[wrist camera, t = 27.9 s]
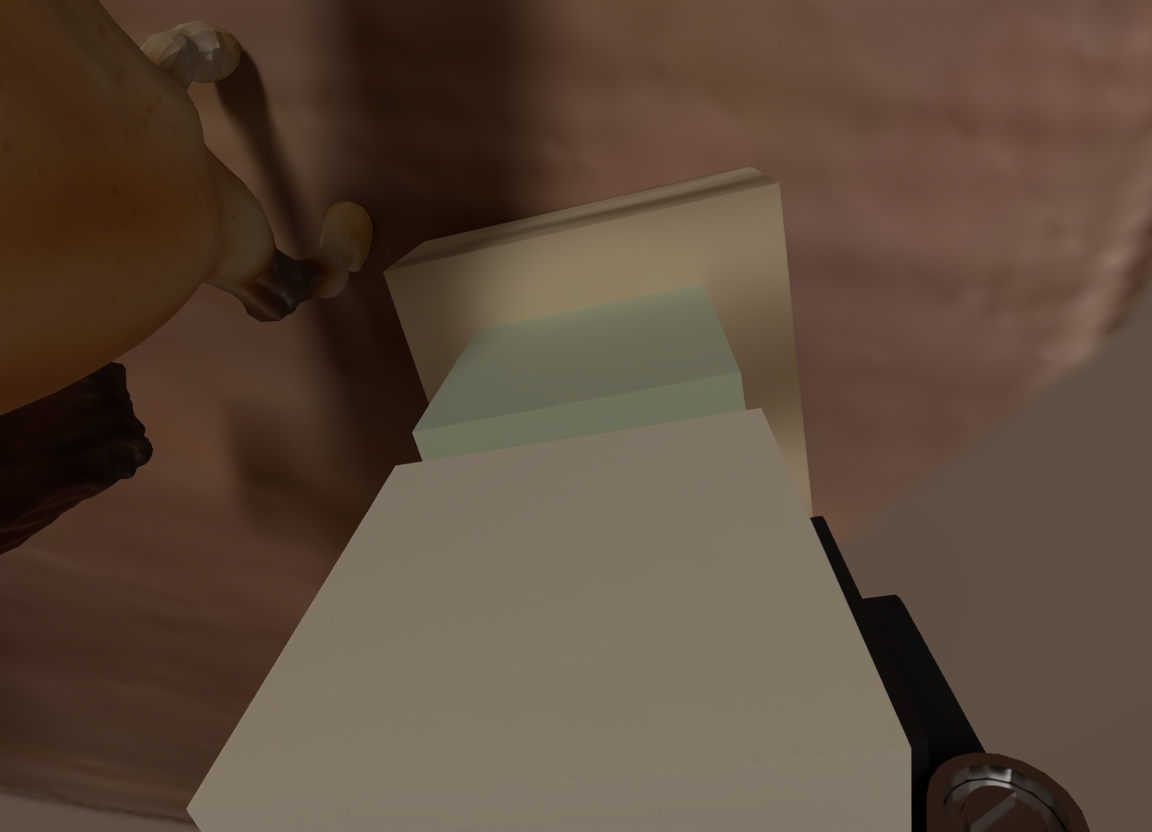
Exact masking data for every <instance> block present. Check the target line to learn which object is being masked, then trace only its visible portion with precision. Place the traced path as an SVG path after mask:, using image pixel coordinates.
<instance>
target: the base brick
mask: <svg viewBox="0 0 1152 832" xmlns="http://www.w3.org/2000/svg"><path fill="white" fill-rule="evenodd" d="M383 274H384V277H385V280H386V283H387V285H388V288H389V291H390V294H391V297H392V300H393V303H394V305H395V308H396V311H397V314H398V317H399V320H400V323H401V325H402V328H403V331H404V334H405V337H406V340H407V343H408V345H409V348H410V351H411V354H412V357H413V360H414V363H415V365H416V368H417V371H418V374H419V377H420V380H421V383H422V386H423V388H424V391H425V394H426V397H427V400H428V403H429V404H430V403H431V401H432V400H433V398H434V396H435V395H436V393H437V392H438V390H439V388H440V387H441V385H442V384H443V382H444V380H445V379H446V377H447V376H448V374H449V373H450V371H451V369H452V368H453V366H454V365H455V363H456V361H457V360H458V358H459V357H460V355H461V353H462V352H463V350H464V349H465V347H466V345H467V344H468V342H469V341H470V339H471V337H472V336H473V334H474V333H475V331H476V330H479V329H484V328H489V327H494V326H499V325H504V324H509V323H514V322H519V321H523V320H528V319H533V318H538V317H543V316H548V315H553V314H558V313H563V312H567V311H572V310H577V309H582V308H587V307H592V306H597V305H602V304H607V303H611V302H616V301H621V300H626V299H631V298H636V297H641V296H646V295H651V294H655V293H660V292H665V291H670V290H675V289H680V288H685V287H690V286H695V285H699V284H704V287H705V289H706V291H707V294H708V296H709V298H710V301H711V303H712V305H713V308H714V310H715V313H716V315H717V317H718V320H719V322H720V324H721V327H722V329H723V331H724V334H725V336H726V339H727V341H728V343H729V346H730V348H731V350H732V353H733V355H734V358H735V360H736V362H737V365H738V367H739V369H740V372H741V378H742V386H743V393H744V400H745V408H746V410H752V409H758V408H762V411H763V413H764V415H765V417H766V420H767V422H768V424H769V426H770V429H771V431H772V433H773V436H774V438H775V440H776V442H777V445H778V447H779V449H780V451H781V454H782V456H783V458H784V461H785V463H786V465H787V467H788V470H789V472H790V474H791V476H792V479H793V481H794V483H795V485H796V488H797V490H798V492H799V495H800V497H801V499H802V501H803V504H804V506H805V508H806V510H807V513H808V515H809V517H813V514H812V504H811V494H810V484H809V474H808V464H807V454H806V444H805V434H804V424H803V414H802V404H801V394H800V384H799V374H798V364H797V354H796V344H795V334H794V324H793V314H792V304H791V294H790V284H789V274H788V264H787V254H786V244H785V234H784V224H783V214H782V204H781V194H780V184H779V182H777V181H775V180H774V179H772V178H770V177H768V176H767V175H765V174H763V173H761V172H759V171H758V170H756V169H754V168H752V167H751V166H750V167H746V168H742V169H737V170H733V171H729V172H724V173H720V174H715V175H711V176H707V177H702V178H698V179H694V180H689V181H685V182H681V183H676V184H672V185H668V186H663V187H659V188H655V189H650V190H646V191H642V192H637V193H633V194H628V195H624V196H620V197H615V198H611V199H607V200H602V201H598V202H594V203H589V204H585V205H581V206H576V207H572V208H568V209H563V210H559V211H555V212H550V213H546V214H541V215H537V216H533V217H528V218H524V219H520V220H515V221H511V222H507V223H502V224H498V225H494V226H489V227H485V228H481V229H476V230H472V231H468V232H463V233H459V234H455V235H450V236H446V237H441V238H437V239H433V240H428V241H424V242H423V243H421V244H420V245H419V246H417V247H416V248H415V249H413V250H412V251H411V252H409V253H408V254H406V255H405V256H404V257H402V258H401V259H400V260H398V261H397V262H396V263H394V264H393V265H391V266H390V267H389V268H387V269H386V270H385V271H383Z"/></svg>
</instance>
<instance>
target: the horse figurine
mask: <svg viewBox="0 0 1152 832" xmlns="http://www.w3.org/2000/svg"><path fill="white" fill-rule="evenodd" d="M240 57H241V45H240V43H239V41H238V40H237V39H236V38H235V37H234V36H233V35H232V34H231V33H229V32H228V31H226V30H223V29H221V28H219V27H215V26H210V25H208V24H206V23H203V22H201V21H195V22H190V23H185V24H180V25H178V26H176V27H174V28H172V29H171V30H168V31H165V32H162V33H159V34H153V35H150V37H149V38H148V39H147V40H146V42H145V43H144V44H143V46H142V47H141V48H139V47H138V46H137V45H136V44H135V43H134V42H133V40H132V39H131V38H130V37H129V36H128V35H127V34H126V33H125V32H124V31H123V30H122V29H121V28H120V27H119V25H118V24H117V23H116V22H115V21H114V20H113V19H112V17H111V16H110V15H109V14H108V12H107V11H106V10H105V8H104V7H103V6H102V5H101V3H100V2H99V1H98V0H0V555H1V554H3V553H5V552H7V551H10V550H12V549H14V548H16V547H19V546H20V545H21V544H22V543H23V542H25V541H26V540H27V539H28V538H29V537H30V536H32V535H33V534H35V533H37V532H38V531H40V530H41V529H43V528H44V527H46V526H48V525H49V524H51V523H52V522H54V521H55V520H56V519H57V518H58V517H59V516H60V515H61V514H62V513H64V512H65V511H67V510H69V509H70V508H73V507H74V506H76V505H77V504H78V503H80V502H81V501H82V500H84V499H88V498H91V497H93V496H95V495H97V494H99V493H100V492H102V491H104V490H106V489H108V488H109V487H110V486H112V485H113V484H114V483H116V482H117V481H118V480H120V479H128V478H131V477H133V476H134V474H135V472H136V469H137V468H138V467H140V466H143V465H145V464H146V463H147V462H148V461H149V459H150V458H151V456H152V452H153V448H152V445H151V443H150V442H149V439H147V438H146V437H145V436H144V433H145V427H144V425H143V424H142V423H141V422H140V421H139V420H138V419H137V418H136V417H135V415H134V412H133V404H132V401H131V400H130V394H129V392H128V390H127V388H126V369H125V367H124V366H123V365H122V364H119V363H114V362H111V361H113V360H115V359H116V358H118V357H120V356H121V355H123V354H124V353H126V352H128V351H129V350H131V349H132V348H134V347H136V346H137V345H139V344H140V343H142V342H143V341H144V340H145V339H147V338H148V337H149V336H150V335H152V334H153V333H154V332H155V331H157V330H158V329H159V328H160V327H162V326H163V325H164V324H165V323H167V322H168V321H169V320H170V319H171V318H172V317H173V316H174V315H175V314H176V313H177V312H178V311H179V310H180V309H181V307H182V306H183V305H184V304H185V303H186V302H187V301H188V300H189V299H190V297H191V296H192V295H193V293H194V292H195V291H196V290H197V288H198V287H199V286H200V284H201V283H202V282H204V283H207V284H210V285H213V286H215V287H217V288H219V289H221V290H223V291H226V292H229V293H231V294H233V295H234V296H236V297H237V298H238V299H240V300H241V301H242V303H243V305H244V307H245V309H246V311H247V313H248V314H249V315H250V316H252V317H254V318H255V319H257V320H259V321H261V322H268V321H280V320H281V319H283V318H284V317H285V316H286V315H288V314H291V313H292V312H294V311H295V310H296V308H297V306H298V305H299V304H300V303H301V302H303V301H305V300H309V299H313V298H316V297H323V298H332V297H335V296H337V295H338V294H340V293H341V291H342V290H343V289H344V288H345V286H346V284H347V281H348V279H349V271H353V272H356V271H360V269H361V268H362V266H363V265H364V263H365V261H366V259H367V257H368V254H369V251H370V246H371V242H372V237H373V225H372V222H371V218H370V217H369V215H368V213H367V211H366V210H365V209H364V208H363V207H361V206H360V205H358V204H356V203H354V202H351V201H345V202H339V203H336V204H334V205H333V206H332V207H331V208H330V209H329V210H328V211H327V213H326V216H325V218H324V220H323V226H322V232H321V236H320V249H321V251H320V252H319V253H318V254H316V255H314V256H313V257H311V258H309V259H305V260H299V261H296V260H294V259H293V258H291V257H289V256H287V255H286V254H284V253H283V252H281V251H280V250H278V249H277V248H276V245H275V240H274V235H273V232H272V230H271V227H270V224H269V222H268V220H267V217H266V215H265V213H264V211H263V209H262V206H261V204H260V202H259V201H258V200H257V199H256V197H255V196H254V195H253V194H252V192H251V191H250V190H249V189H248V188H247V186H246V185H245V184H244V183H243V181H242V180H241V179H240V178H238V177H237V176H236V175H235V174H234V173H233V172H232V171H231V170H229V169H228V168H227V167H226V166H225V165H224V164H223V163H222V162H221V161H220V160H219V159H218V158H217V157H216V156H215V155H214V154H213V153H212V152H211V151H210V150H209V149H208V147H207V146H206V145H205V143H204V136H203V128H202V124H201V121H200V118H199V114H198V111H197V109H196V107H195V105H194V103H193V102H192V100H191V98H190V97H189V95H188V93H187V91H186V90H187V89H188V87H189V85H190V83H191V82H192V81H194V82H200V83H210V82H214V81H218V80H222V79H225V78H226V77H228V76H229V75H230V74H232V72H233V71H234V70H235V69H236V67H237V66H238V64H239V60H240Z"/></svg>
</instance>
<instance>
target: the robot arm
mask: <svg viewBox="0 0 1152 832" xmlns="http://www.w3.org/2000/svg"><path fill="white" fill-rule="evenodd" d="M810 520H811V522H812V524H813V526H814V529H815V531H816V533H817V535H818V538H819V540H820V542H821V545H822V547H823V549H824V551H825V554H826V556H827V558H828V560H829V563H830V565H831V567H832V569H833V572H834V574H835V576H836V579H837V581H838V583H839V585H840V588H841V590H842V592H843V594H844V597H845V599H846V601H847V604H848V606H849V608H850V610H851V613H852V615H853V617H854V619H855V622H856V624H857V626H858V628H859V631H860V633H861V635H862V638H863V640H864V642H865V644H866V647H867V649H868V651H869V653H870V656H871V658H872V660H873V663H874V665H875V667H876V669H877V672H878V674H879V676H880V678H881V681H882V683H883V685H884V688H885V690H886V692H887V694H888V697H889V699H890V701H891V703H892V706H893V708H894V710H895V712H896V715H897V717H898V719H899V722H900V724H901V726H902V728H903V731H904V733H905V735H906V737H907V740H908V742H909V744H910V747H911V832H1090V830H1089V827H1088V825H1087V822H1086V820H1085V817H1084V815H1083V812H1082V810H1081V809H1080V807H1079V806H1078V805H1077V804H1076V802H1075V801H1074V800H1073V798H1072V797H1071V796H1070V795H1069V793H1068V792H1067V791H1066V790H1065V789H1064V788H1063V787H1062V786H1060V785H1059V784H1058V783H1057V782H1055V781H1054V780H1053V779H1052V778H1051V777H1049V776H1048V775H1047V774H1046V773H1044V772H1042V771H1040V770H1038V769H1036V768H1035V767H1032V766H1031V765H1029V764H1027V763H1025V762H1023V761H1020V760H1017V759H1014V758H1010V757H1007V756H1004V755H1000V754H992V753H986V752H985V751H984V749H983V747H982V745H981V743H980V742H979V740H978V738H977V736H976V734H975V732H974V731H973V729H972V727H971V725H970V723H969V722H968V720H967V718H966V716H965V714H964V712H963V711H962V709H961V707H960V705H959V703H958V702H957V700H956V698H955V696H954V694H953V692H952V691H951V689H950V687H949V685H948V684H947V682H946V680H945V678H944V676H943V674H942V672H941V671H940V669H939V667H938V665H937V663H936V662H935V660H934V658H933V656H932V654H931V652H930V651H929V649H928V647H927V645H926V643H925V641H924V640H923V638H922V636H921V634H920V632H919V631H918V629H917V627H916V625H915V623H914V622H913V620H912V618H911V616H910V614H909V612H908V611H907V609H906V607H905V605H904V604H903V602H902V601H901V599H900V598H899V597H898V596H897V595H889V596H881V597H873V598H865V599H862V597H861V595H860V593H859V591H858V589H857V587H856V585H855V582H854V580H853V578H852V576H851V574H850V572H849V570H848V568H847V566H846V563H845V561H844V559H843V557H842V555H841V553H840V551H839V549H838V546H837V544H836V542H835V540H834V538H833V536H832V534H831V532H830V530H829V527H828V525H827V523H826V521H825V519H824V518H823V517H822V516H817V517H810Z"/></svg>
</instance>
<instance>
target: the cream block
mask: <svg viewBox="0 0 1152 832" xmlns="http://www.w3.org/2000/svg"><path fill="white" fill-rule="evenodd" d="M186 810H187V811H188V813H189V814H190V816H191V817H192V819H193V820H194V822H195V823H196V825H197V826H198V828H199V829H200V830H201V832H911V747H910V744H909V742H908V740H907V737H906V735H905V733H904V731H903V728H902V726H901V724H900V722H899V719H898V717H897V715H896V712H895V710H894V708H893V706H892V703H891V701H890V699H889V697H888V694H887V692H886V690H885V688H884V685H883V683H882V681H881V678H880V676H879V674H878V672H877V669H876V667H875V665H874V663H873V660H872V658H871V656H870V653H869V651H868V649H867V647H866V644H865V642H864V640H863V638H862V635H861V633H860V631H859V628H858V626H857V624H856V622H855V619H854V617H853V615H852V613H851V610H850V608H849V606H848V604H847V601H846V599H845V597H844V594H843V592H842V590H841V588H840V585H839V583H838V581H837V579H836V576H835V574H834V572H833V569H832V567H831V565H830V563H829V560H828V558H827V556H826V554H825V551H824V549H823V547H822V545H821V542H820V540H819V538H818V535H817V533H816V531H815V529H814V526H813V524H812V522H811V520H810V517H809V515H808V513H807V510H806V508H805V506H804V504H803V501H802V499H801V497H800V495H799V492H798V490H797V488H796V485H795V483H794V481H793V479H792V476H791V474H790V472H789V470H788V467H787V465H786V463H785V461H784V458H783V456H782V454H781V451H780V449H779V447H778V445H777V442H776V440H775V438H774V436H773V433H772V431H771V429H770V426H769V424H768V422H767V420H766V417H765V415H764V413H763V411H762V408H758V409H752V410H746V411H739V412H733V413H727V414H720V415H714V416H708V417H701V418H695V419H689V420H682V421H676V422H670V423H663V424H657V425H651V426H644V427H638V428H632V429H625V430H619V431H613V432H606V433H600V434H594V435H587V436H581V437H575V438H568V439H562V440H556V441H549V442H543V443H537V444H530V445H524V446H518V447H511V448H505V449H499V450H492V451H486V452H480V453H473V454H467V455H461V456H454V457H448V458H442V459H435V460H429V461H423V462H416V463H410V464H404V465H397V466H395V467H394V469H393V471H392V472H391V474H390V476H389V477H388V479H387V481H386V482H385V484H384V485H383V487H382V489H381V490H380V492H379V494H378V495H377V497H376V499H375V500H374V502H373V504H372V505H371V507H370V508H369V510H368V512H367V513H366V515H365V517H364V518H363V520H362V522H361V523H360V525H359V526H358V528H357V530H356V531H355V533H354V535H353V536H352V538H351V540H350V541H349V543H348V544H347V546H346V548H345V549H344V551H343V553H342V554H341V556H340V558H339V559H338V561H337V563H336V564H335V566H334V567H333V569H332V571H331V572H330V574H329V576H328V577H327V579H326V581H325V582H324V584H323V585H322V587H321V589H320V590H319V592H318V594H317V595H316V597H315V599H314V600H313V602H312V603H311V605H310V607H309V608H308V610H307V612H306V613H305V615H304V617H303V618H302V620H301V622H300V623H299V625H298V626H297V628H296V630H295V631H294V633H293V635H292V636H291V638H290V640H289V641H288V643H287V644H286V646H285V648H284V649H283V651H282V653H281V654H280V656H279V658H278V659H277V661H276V663H275V664H274V666H273V667H272V669H271V671H270V672H269V674H268V676H267V677H266V679H265V681H264V682H263V684H262V685H261V687H260V689H259V690H258V692H257V694H256V695H255V697H254V699H253V700H252V702H251V703H250V705H249V707H248V708H247V710H246V712H245V713H244V715H243V717H242V718H241V720H240V722H239V723H238V725H237V726H236V728H235V730H234V731H233V733H232V735H231V736H230V738H229V740H228V741H227V743H226V744H225V746H224V748H223V749H222V751H221V753H220V754H219V756H218V758H217V759H216V761H215V763H214V764H213V766H212V767H211V769H210V771H209V772H208V774H207V776H206V777H205V779H204V781H203V782H202V784H201V785H200V787H199V789H198V790H197V792H196V794H195V795H194V797H193V799H192V800H191V802H190V803H189V805H188V807H187V808H186Z"/></svg>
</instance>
